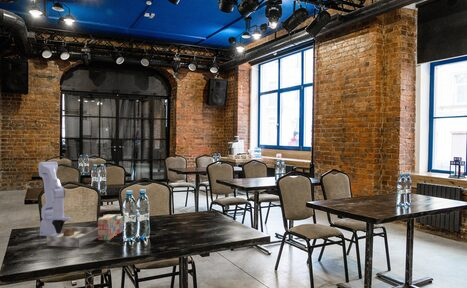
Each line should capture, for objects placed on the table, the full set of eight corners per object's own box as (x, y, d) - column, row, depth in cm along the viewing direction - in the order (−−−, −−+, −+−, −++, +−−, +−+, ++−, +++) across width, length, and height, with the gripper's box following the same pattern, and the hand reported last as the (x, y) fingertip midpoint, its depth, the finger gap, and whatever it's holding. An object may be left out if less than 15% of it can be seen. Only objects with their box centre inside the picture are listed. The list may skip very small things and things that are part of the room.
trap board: (46, 245, 199) (46, 236, 199) (70, 235, 220) (70, 226, 220) (78, 247, 196) (78, 237, 196) (99, 236, 217) (99, 228, 217)
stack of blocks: (114, 230, 231) (114, 211, 231) (123, 230, 230) (123, 211, 230) (97, 240, 210) (97, 218, 210) (108, 240, 209) (108, 219, 209)
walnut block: (63, 236, 207) (63, 229, 207) (67, 234, 211) (67, 227, 211) (69, 236, 207) (69, 229, 206) (74, 234, 210) (74, 227, 210)
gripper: (42, 210, 207) (42, 234, 207) (65, 211, 204) (66, 235, 205) (50, 208, 214) (50, 231, 214) (73, 208, 211) (73, 232, 212)
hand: (58, 233), depth 210 cm, fingers closed
